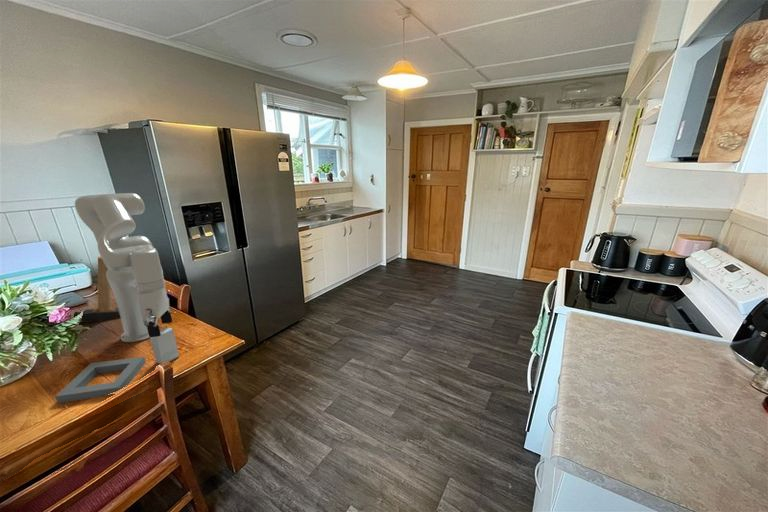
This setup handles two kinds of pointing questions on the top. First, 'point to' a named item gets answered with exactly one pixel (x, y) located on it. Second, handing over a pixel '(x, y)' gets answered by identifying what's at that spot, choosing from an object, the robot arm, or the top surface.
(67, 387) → the socket block
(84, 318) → the hammer
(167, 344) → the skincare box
